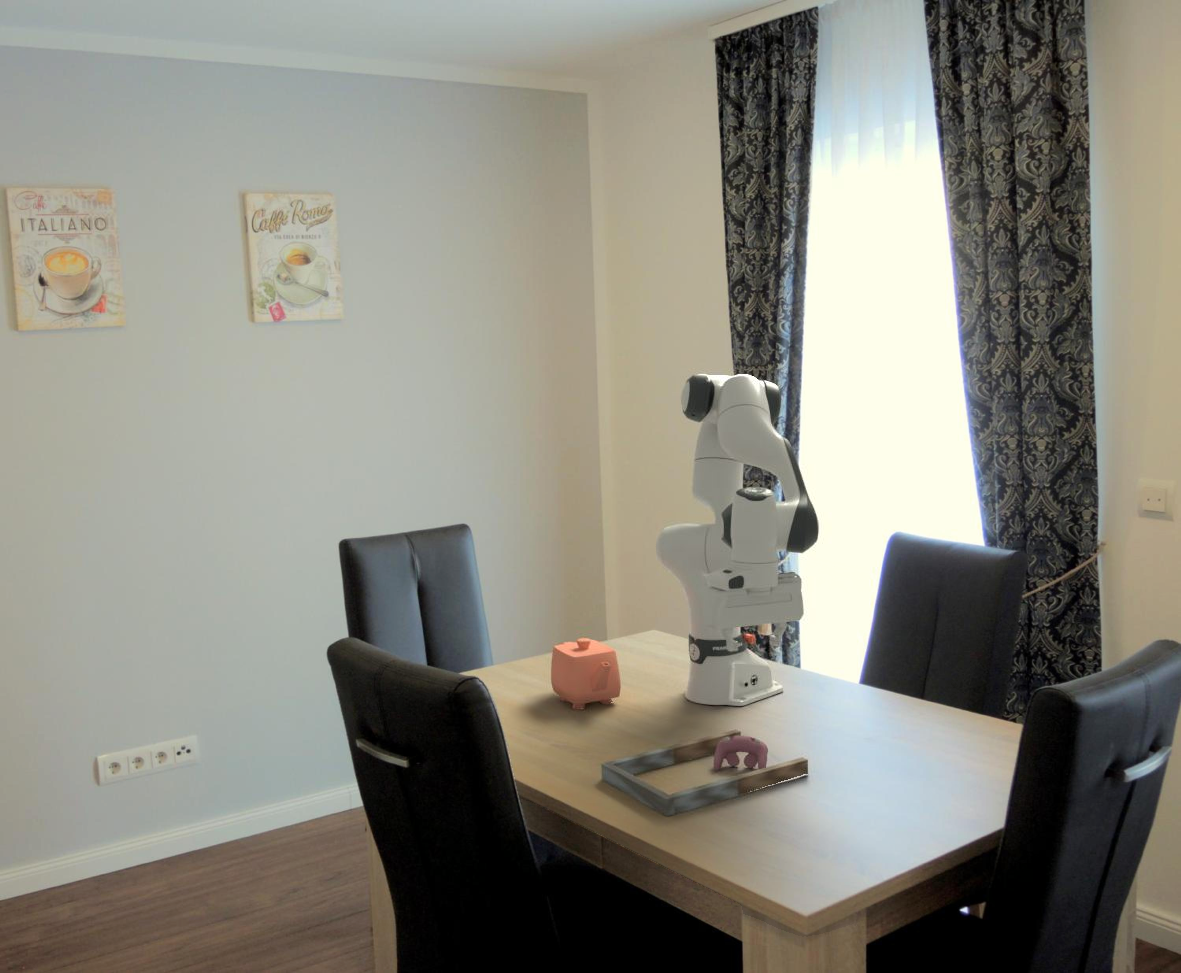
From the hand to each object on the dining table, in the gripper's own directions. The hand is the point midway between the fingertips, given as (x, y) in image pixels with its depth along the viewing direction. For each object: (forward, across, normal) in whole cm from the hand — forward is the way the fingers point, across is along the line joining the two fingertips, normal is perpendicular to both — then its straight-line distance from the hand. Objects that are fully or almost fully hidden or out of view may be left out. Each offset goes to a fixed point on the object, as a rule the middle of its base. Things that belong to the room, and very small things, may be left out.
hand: (754, 647), depth 216 cm
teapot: (+22, +12, -50) cm, 56 cm away
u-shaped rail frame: (+22, +13, +4) cm, 26 cm away
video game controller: (+22, +4, +3) cm, 23 cm away
